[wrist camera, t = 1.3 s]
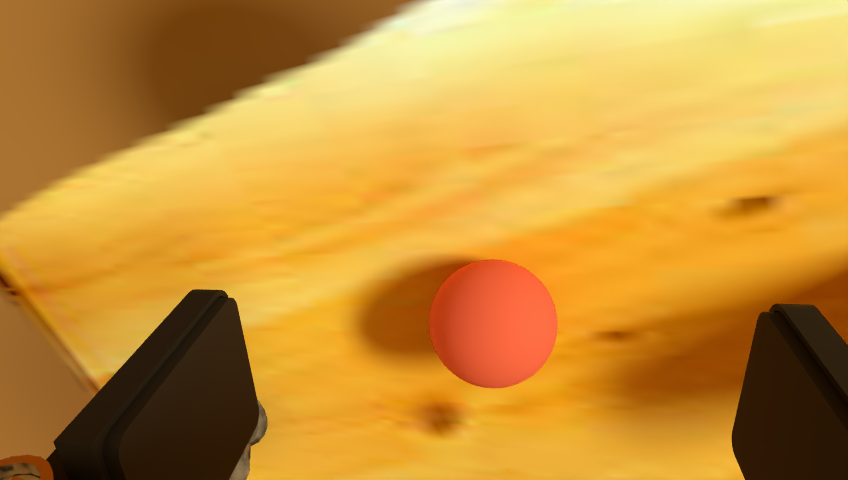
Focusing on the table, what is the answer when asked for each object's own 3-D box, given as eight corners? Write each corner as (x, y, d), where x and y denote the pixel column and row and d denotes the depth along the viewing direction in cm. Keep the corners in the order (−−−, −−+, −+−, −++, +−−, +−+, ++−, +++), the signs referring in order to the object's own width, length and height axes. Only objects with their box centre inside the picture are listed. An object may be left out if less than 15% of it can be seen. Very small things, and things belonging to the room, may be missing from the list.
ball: (555, 237, 30) (561, 301, 25) (554, 340, 32) (560, 418, 27) (433, 239, 31) (414, 300, 26) (441, 338, 33) (425, 413, 28)
